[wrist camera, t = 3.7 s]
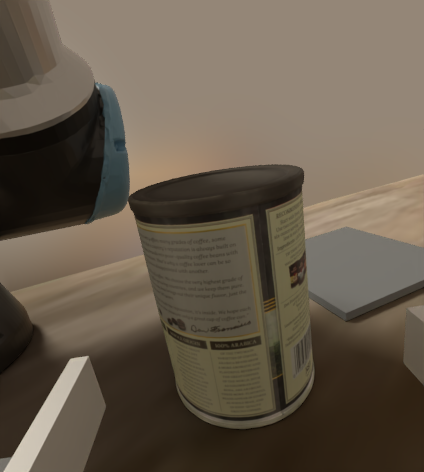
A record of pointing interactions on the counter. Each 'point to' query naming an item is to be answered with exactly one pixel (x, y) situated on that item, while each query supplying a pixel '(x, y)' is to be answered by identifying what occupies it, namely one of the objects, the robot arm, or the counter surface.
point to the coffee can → (232, 290)
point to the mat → (360, 270)
